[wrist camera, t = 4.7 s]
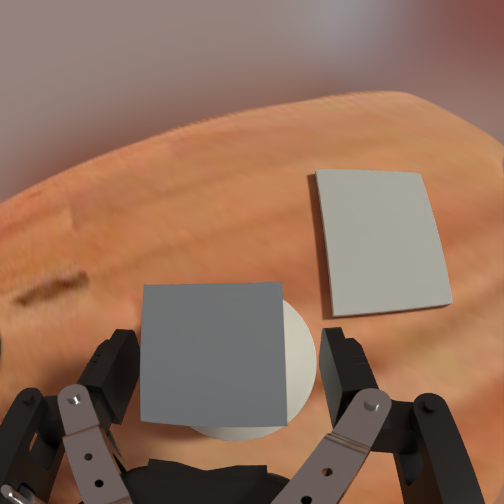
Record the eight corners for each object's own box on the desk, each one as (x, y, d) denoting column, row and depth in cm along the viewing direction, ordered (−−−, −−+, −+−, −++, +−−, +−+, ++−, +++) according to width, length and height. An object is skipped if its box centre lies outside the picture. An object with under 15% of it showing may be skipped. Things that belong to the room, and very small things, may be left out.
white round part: (174, 425, 18) (156, 436, 15) (175, 300, 22) (158, 285, 18) (308, 425, 18) (318, 437, 14) (302, 297, 21) (311, 281, 18)
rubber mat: (332, 317, 21) (334, 315, 20) (314, 173, 25) (315, 169, 25) (449, 304, 21) (452, 303, 20) (417, 176, 25) (420, 173, 25)
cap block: (194, 401, 15) (140, 420, 8) (194, 324, 17) (143, 284, 10) (275, 401, 15) (287, 425, 8) (273, 322, 17) (282, 281, 10)
